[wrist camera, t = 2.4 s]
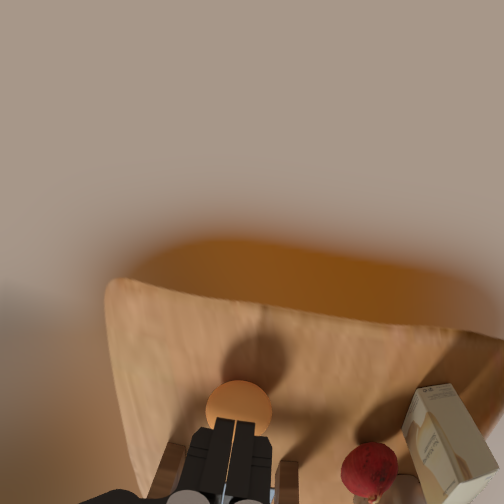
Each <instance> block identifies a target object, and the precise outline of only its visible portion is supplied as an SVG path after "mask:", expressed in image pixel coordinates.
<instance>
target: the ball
mask: <svg viewBox="0 0 504 504" xmlns="http://www.w3.org/2000/svg"><path fill="white" fill-rule="evenodd" d="M217 417H221V418H227V419H233V420H235V425H234V432H233V439H232V442H233V441H234V435H235V429H236V423H237V420H240V421H247V422H255V434H254V435H255V436H260V435H262V434H263V433H264V432H265V430H266V429H267V428H268V426H269V424H270V421H271V418H272V406H271V402H270V400H269V398H268V396H267V395H266V393H265V392H264V391H263V390H262V389H261V388H260V387H258V386H257V385H255V384H253V383H251V382H247V381H242V380H235V381H230V382H227V383H224V384H222V385H220V386H219V387H217V388H216V389H215V390H214V391H213V392H212V394H211V395H210V397H209V399H208V401H207V404H206V418H207V421H208V424H209V426H210V427H211V429H214V426H215V421H216V418H217Z"/></svg>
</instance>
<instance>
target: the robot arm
mask: <svg viewBox="0 0 504 504" xmlns="http://www.w3.org/2000/svg"><path fill="white" fill-rule="evenodd" d="M234 425H235V420H233V419H227V418H221V417H217V418H216V421H215V426H214V429H209V428H204V427H201V428H200V429H199V430H198V431H197V432H196V433H195V434H194V435H193V436H192V440H191V443H190V447H189V450H188V453H187V456H186V459H185V463H184V466H183V469H182V473H181V476H180V479H179V483H178V486H177V488H176V489H175V491H174V492H173V493H171V494H170V495H168V496H166V497H163V498H157V499H143V498H142V499H141V498H139V497H137V495H135V494H134V493H132V492H130V491H127V490H122V489H116V490H112V491H109V492H107V493H104V494H102V495H99V496H97V497H95V498H92V499H89V500H87V501H84V502H82V503H79V504H221V503H222V497H223V492H224V486H225V480H226V475H227V469H228V463H229V457H230V452H231V445H232V439H233V432H234ZM254 434H255V422H247V421H240V420H237V423H236V429H235V435H234V441H233V447H232V453H231V458H230V464H229V470H228V476H227V482H226V488H225V493H224V500H223V504H270V486H271V465H272V446H271V444H270V442H269V440H268V437H263V436H255V435H254ZM353 502H354V504H370V503H369V502H368V498H365V497H360V496H357V495H355V496H354V499H353ZM375 504H427V502H426V499H425V496H424V493H423V489H422V486H421V483H418V480H417V478H416V477H414V476H412V475H397V476H396V478H395V480H394V482H393V484H392V485H391V487H390V488H389V489H388V490H387V491H386V492H384V493H383V495H382V497H381V499H380V500H379V502H378V503H375Z"/></svg>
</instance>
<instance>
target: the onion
mask: <svg viewBox="0 0 504 504" xmlns="http://www.w3.org/2000/svg"><path fill="white" fill-rule="evenodd" d="M397 473H398V463H397V457H396V455H395V453H394V451H392V450H391V449H390V448H389V447H388V446H386V445H385V444H382V443H376V442H370V443H363V444H361V445H359V446H358V447H357V448H355V449H354V450H353V451H351V452H350V453H349V455H348V456H347V457H346V458H345V460H344V462H343V464H342V468H341V479H342V482H343V483H344V485H345V486H346V487H347V489H348V490H349V491H350V492H351V493H353V494H355V495H357V496H360V497H365V498H368V502H369V503H370V504H375V503H378V502H379V500H380V499H381V497H382V495H383V493H384V492H386V491H387V490H388V489H389V488H390V487H391V485H392V484H393V482H394V480H395V478H396V476H397Z"/></svg>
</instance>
